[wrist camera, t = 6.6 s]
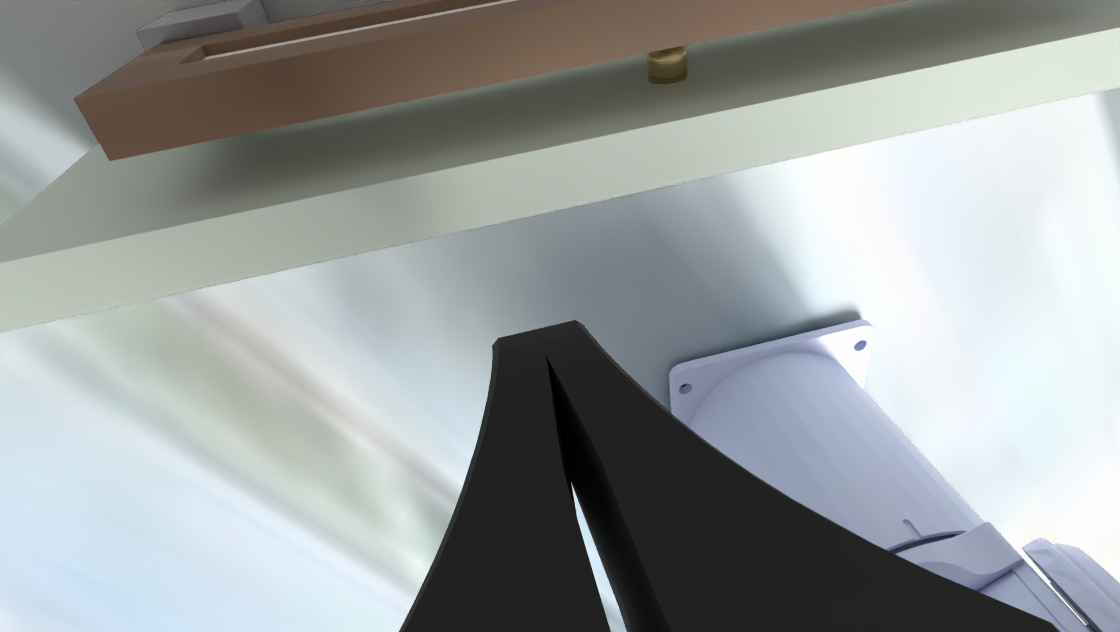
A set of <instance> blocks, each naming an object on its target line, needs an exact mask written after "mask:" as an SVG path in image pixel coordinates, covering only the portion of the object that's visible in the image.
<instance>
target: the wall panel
mask: <svg viewBox="0 0 1120 632" xmlns="http://www.w3.org/2000/svg"><path fill="white" fill-rule="evenodd" d="M265 24H269V22H268V19H267V17H266V14H265V11H264V9H263V6H262V3H261V1H260V0H231V1H226V2H220V3H215V4H209V5H204V6H198V7H193V8H187V9H182V10H177V11H171V12H169V13H167V14H166V15H164V16H162V17H160V18H158V19H156V20H155V21H153V22H151V23H149V24H147V25H145V26H143V27H142V28H140V29H138V30H136V33H137V35H138V37H139V39H140V41H141V43H142V45H143V47H144V49H145V51H148V50H149V49H151V48H152V47H154V46H155V45H159V44H164V43H169V42H175V41H180V40H185V39H191V38H196V37H201V36H207V35H212V34H217V33H223V32H228V31H233V30H239V29H244V28H249V27H255V26H260V25H265ZM1118 87H1120V0H908V1H903V2H898V3H893V4H888V5H883V6H878V7H873V8H868V9H863V10H858V11H853V12H848V13H843V14H838V15H833V16H828V17H823V18H818V19H813V20H809V21H804V22H799V23H794V24H789V25H784V26H779V27H774V28H769V29H764V30H759V31H754V32H749V33H744V34H739V35H734V36H729V37H724V38H719V39H714V40H709V41H704V42H699V43H694V44H689V45H684V46H679V47H674V48H669V49H664V50H660V51H655V52H650V53H645V54H640V55H635V56H630V57H625V58H620V59H615V60H610V61H605V62H600V63H595V64H590V65H585V66H580V67H575V68H570V69H565V70H560V71H555V72H550V73H545V74H540V75H535V76H530V77H525V78H520V79H516V80H511V81H506V82H501V83H496V84H491V85H486V86H481V87H476V88H471V89H466V90H461V91H456V92H451V93H446V94H441V95H436V96H431V97H426V98H421V99H416V100H411V101H406V102H401V103H396V104H391V105H386V106H381V107H376V108H372V109H367V110H362V111H357V112H352V113H347V114H342V115H337V116H332V117H327V118H322V119H317V120H312V121H307V122H302V123H297V124H292V125H287V126H282V127H277V128H272V129H267V130H262V131H257V132H252V133H247V134H242V135H237V136H232V137H228V138H223V139H218V140H213V141H208V142H203V143H198V144H193V145H188V146H183V147H178V148H173V149H168V150H163V151H158V152H153V153H148V154H143V155H138V156H133V157H128V158H123V159H118V160H113V161H109V159H108V158H107V156H106V154H105V152H104V151H103V149H102V147H101V145H100V144H99V143H98V144H97V145H96V146H95V147H94V148H92V149H91V150H90V151H89V152H88V153H86V154H85V155H84V156H83V157H82V158H81V159H79V160H78V161H77V162H76V163H75V164H73V165H72V166H71V167H70V168H69V169H68V170H66V171H65V172H64V173H63V174H62V175H60V176H59V177H58V178H57V179H56V180H55V181H53V182H52V183H51V184H50V185H49V186H47V187H46V188H45V189H44V190H43V191H42V192H40V193H39V194H38V195H37V196H36V197H34V198H33V199H32V200H31V201H30V202H29V203H27V204H26V205H25V206H24V207H23V208H21V209H20V210H19V211H18V212H17V213H16V214H14V215H13V216H12V217H11V218H10V219H8V220H7V221H6V222H5V223H4V224H3V225H1V226H0V333H1V332H5V331H10V330H14V329H19V328H24V327H28V326H33V325H37V324H42V323H46V322H51V321H55V320H60V319H65V318H69V317H74V316H78V315H83V314H87V313H92V312H97V311H101V310H106V309H110V308H115V307H119V306H124V305H128V304H133V303H138V302H142V301H147V300H151V299H156V298H160V297H165V296H169V295H174V294H179V293H183V292H188V291H192V290H197V289H201V288H206V287H211V286H215V285H220V284H224V283H229V282H233V281H238V280H242V279H247V278H252V277H256V276H261V275H265V274H270V273H274V272H279V271H284V270H288V269H293V268H297V267H302V266H306V265H311V264H315V263H320V262H325V261H329V260H334V259H338V258H343V257H347V256H352V255H357V254H361V253H366V252H370V251H375V250H379V249H384V248H388V247H393V246H398V245H402V244H407V243H411V242H416V241H420V240H425V239H429V238H434V237H439V236H443V235H448V234H452V233H457V232H461V231H466V230H471V229H475V228H480V227H484V226H489V225H493V224H498V223H502V222H507V221H512V220H516V219H521V218H525V217H530V216H534V215H539V214H544V213H548V212H553V211H557V210H562V209H566V208H571V207H575V206H580V205H585V204H589V203H594V202H598V201H603V200H607V199H612V198H617V197H621V196H626V195H630V194H635V193H639V192H644V191H648V190H653V189H658V188H662V187H667V186H671V185H676V184H680V183H685V182H689V181H694V180H699V179H703V178H708V177H712V176H717V175H721V174H726V173H731V172H735V171H740V170H744V169H749V168H753V167H758V166H762V165H767V164H772V163H776V162H781V161H785V160H790V159H794V158H799V157H804V156H808V155H813V154H817V153H822V152H826V151H831V150H835V149H840V148H845V147H849V146H854V145H858V144H863V143H867V142H872V141H877V140H881V139H886V138H890V137H895V136H899V135H904V134H908V133H913V132H918V131H922V130H927V129H931V128H936V127H940V126H945V125H949V124H954V123H959V122H963V121H968V120H972V119H977V118H981V117H986V116H991V115H995V114H1000V113H1004V112H1009V111H1013V110H1018V109H1022V108H1027V107H1032V106H1036V105H1041V104H1045V103H1050V102H1054V101H1059V100H1064V99H1068V98H1073V97H1077V96H1082V95H1086V94H1091V93H1095V92H1100V91H1105V90H1109V89H1114V88H1118Z"/></svg>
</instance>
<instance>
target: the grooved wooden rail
mask: <svg viewBox="0 0 1120 632" xmlns="http://www.w3.org/2000/svg"><path fill="white" fill-rule="evenodd" d="M903 1H908V0H394V1H388V2H383V3H378V4H372V5H367V6H362V7H356V8H351V9H346V10H340V11H335V12H329V13H324V14H319V15H313V16H308V17H303V18H297V19H292V20H287V21H281V22H276V23H271V24H265V25H260V26H255V27H249V28H244V29H239V30H233V31H228V32H223V33H217V34H212V35H207V36H201V37H196V38H191V39H185V40H180V41H175V42H169V43H164V44H159V45H155V46H154V47H152V48H151V49H149V50H148V51H146V52H145V53H143V54H142V55H140V56H138V57H137V58H135V59H134V60H132V61H131V62H129V63H128V64H126V65H125V66H123V67H122V68H120V69H118V70H117V71H115V72H114V73H112V74H111V75H109V76H108V77H106V78H105V79H103V80H102V81H100V82H98V83H97V84H95V85H94V86H92V87H91V88H89V89H88V90H86V91H85V92H83V93H82V94H80V95H79V96H77V97H75V98H74V100H75V102H76V104H77V105H78V107H79V109H80V111H81V112H82V114H83V116H84V118H85V119H86V121H87V123H88V124H89V126H90V128H91V130H92V131H93V133H94V135H95V137H96V138H97V140H98V142H99V144H100V145H101V147H102V149H103V151H104V152H105V154H106V156H107V158H108V159H109V161H113V160H118V159H123V158H128V157H133V156H138V155H143V154H148V153H153V152H158V151H163V150H168V149H173V148H178V147H183V146H188V145H193V144H198V143H203V142H208V141H213V140H218V139H223V138H228V137H232V136H237V135H242V134H247V133H252V132H257V131H262V130H267V129H272V128H277V127H282V126H287V125H292V124H297V123H302V122H307V121H312V120H317V119H322V118H327V117H332V116H337V115H342V114H347V113H352V112H357V111H362V110H367V109H372V108H376V107H381V106H386V105H391V104H396V103H401V102H406V101H411V100H416V99H421V98H426V97H431V96H436V95H441V94H446V93H451V92H456V91H461V90H466V89H471V88H476V87H481V86H486V85H491V84H496V83H501V82H506V81H511V80H516V79H520V78H525V77H530V76H535V75H540V74H545V73H550V72H555V71H560V70H565V69H570V68H575V67H580V66H585V65H590V64H595V63H600V62H605V61H610V60H615V59H620V58H625V57H630V56H635V55H640V54H645V53H650V52H655V51H660V50H664V49H669V48H674V47H679V46H684V45H689V44H694V43H699V42H704V41H709V40H714V39H719V38H724V37H729V36H734V35H739V34H744V33H749V32H754V31H759V30H764V29H769V28H774V27H779V26H784V25H789V24H794V23H799V22H804V21H809V20H813V19H818V18H823V17H828V16H833V15H838V14H843V13H848V12H853V11H858V10H863V9H868V8H873V7H878V6H883V5H888V4H893V3H898V2H903Z"/></svg>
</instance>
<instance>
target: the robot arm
mask: <svg viewBox="0 0 1120 632" xmlns="http://www.w3.org/2000/svg"><path fill="white" fill-rule="evenodd" d="M873 332H874V330H873V327H872V325H871V324H870V323H869V322H867V321H866V320H863V319H861V320H855V321H851V322H847V323H843V324H839V325H835V326H831V327H827V328H822V329H818V330H814V331H810V332H806V333H802V334H798V335H794V336H790V337H786V338H781V339H777V340H773V341H769V342H765V343H761V344H757V345H753V346H749V347H744V348H740V349H736V350H732V351H728V352H724V353H720V354H716V355H712V356H708V357H703V358H699V359H695V360H691V361H687V362H683V363H680V364H677V365H676V366H674V367H673V368H672V369H671V371H670V373H669V386H670V404H671V413H670V412H669V411H668V410H667V409H666V408H665V407H663V406H662V405H661V404H660V403H659V402H658V401H657V400H655V399H654V398H653V397H652V396H651V395H650V394H649V393H648V392H647V391H646V390H644V389H643V388H642V387H641V386H640V385H639V384H638V383H637V382H636V381H635V380H634V379H632V378H631V377H630V376H629V375H628V374H627V373H626V372H625V371H624V370H623V369H622V368H621V367H620V366H619V365H618V364H617V363H616V362H615V361H614V360H613V359H612V358H611V356H610V355H609V354H608V353H607V352H606V351H605V350H604V349H603V348H602V347H601V346H600V345H599V343H598V342H597V341H596V340H595V339H594V338H593V336H592V335H591V334H590V333H589V332H588V330H587V329H586V328H585V326H584V325H583V324H581V323H579V322H578V321H576V320H574V321H570V322H565V323H561V324H557V325H553V326H548V327H544V328H540V329H536V330H531V331H527V332H523V333H518V334H514V335H510V336H506V337H501V338H498V339H497V340H496V342H495V343H494V344H493V346H492V349H493V360H492V372H491V380H490V386H489V391H488V397H487V402H486V407H485V411H484V415H483V419H482V423H481V428H480V432H479V436H478V440H477V443H476V447H475V450H474V453H473V457H472V460H471V463H470V466H469V469H468V472H467V475H466V479H465V482H464V485H463V488H462V491H461V494H460V497H459V499H458V502H457V505H456V507H455V510H454V513H453V515H452V518H451V521H450V523H449V526H448V528H447V530H446V533H445V535H444V538H443V540H442V542H441V545H440V547H439V550H438V552H437V554H436V556H435V559H434V561H433V563H432V565H431V567H430V569H429V572H428V574H427V576H426V578H425V580H424V582H423V584H422V586H421V588H420V591H419V593H418V595H417V597H416V599H415V601H414V603H413V605H412V607H411V609H410V611H409V613H408V615H407V617H406V619H405V621H404V623H403V625H402V627H401V629H400V631H399V632H611V631H610V628H609V625H608V621H607V618H606V615H605V611H604V608H603V605H602V601H601V598H600V595H599V591H598V588H597V585H596V581H595V578H594V574H593V571H592V568H591V564H590V561H589V557H588V554H587V551H586V547H585V544H584V540H583V537H582V534H581V530H580V527H579V523H578V520H577V515H576V509H575V503H574V497H573V491H572V485H573V488H574V490H575V493H576V496H577V498H578V501H579V504H580V506H581V509H582V512H583V514H584V517H585V519H586V522H587V525H588V527H589V530H590V533H591V535H592V538H593V540H594V543H595V546H596V548H597V551H598V554H599V556H600V559H601V561H602V564H603V567H604V569H605V572H606V575H607V577H608V580H609V582H610V585H611V588H612V590H613V593H614V595H615V598H616V601H617V603H618V606H619V609H620V612H621V615H622V618H623V621H624V624H625V627H626V630H627V632H1120V583H1119V582H1118V581H1117V580H1116V579H1114V578H1113V577H1112V576H1111V575H1110V574H1109V573H1108V572H1107V571H1106V570H1105V569H1103V568H1102V567H1101V566H1100V565H1099V564H1098V563H1097V562H1095V561H1094V560H1093V559H1092V558H1091V557H1089V556H1088V555H1087V554H1086V553H1084V552H1083V551H1082V550H1080V549H1079V548H1076V547H1072V546H1067V545H1062V544H1054V545H1053V544H1052V543H1050V542H1049V541H1047V540H1046V539H1041V538H1039V539H1036V540H1034V541H1032V542H1030V543H1029V544H1027V545H1026V546H1024V547H1022V549H1023V550H1024V551H1025V553H1026V554H1027V555H1028V556H1029V558H1030V559H1031V560H1032V561H1033V562H1034V563H1035V564H1036V566H1037V567H1038V568H1039V569H1040V570H1041V571H1042V572H1043V574H1044V575H1045V576H1046V577H1047V578H1048V579H1049V580H1050V581H1051V582H1050V584H1051V585H1052V586H1053V588H1054V589H1055V590H1056V591H1057V592H1058V593H1059V594H1060V596H1061V597H1062V598H1063V599H1064V600H1065V601H1066V602H1067V603H1068V605H1069V606H1070V607H1071V608H1072V609H1073V610H1074V611H1075V612H1076V614H1077V615H1078V616H1079V617H1080V618H1081V619H1082V620H1083V621H1084V622H1085V624H1086V626H1085V625H1084V624H1083V623H1082V621H1081V620H1080V619H1079V618H1078V617H1077V616H1076V615H1075V614H1074V613H1073V612H1072V611H1071V610H1070V608H1069V607H1068V606H1067V605H1066V604H1065V603H1064V602H1063V601H1062V600H1061V599H1060V598H1059V597H1058V596H1057V594H1056V593H1055V592H1054V591H1053V590H1052V589H1051V588H1050V587H1049V586H1048V585H1047V584H1046V583H1045V582H1044V580H1043V579H1042V578H1041V577H1040V576H1039V575H1038V574H1037V573H1036V572H1035V571H1034V570H1033V569H1032V568H1031V567H1030V566H1029V565H1028V564H1027V562H1026V561H1025V560H1024V559H1023V558H1022V557H1021V556H1020V555H1019V554H1018V553H1017V551H1016V550H1015V549H1014V548H1013V547H1012V546H1011V545H1010V544H1009V543H1008V542H1007V541H1006V539H1005V538H1004V537H1003V536H1002V535H1001V534H1000V533H999V532H998V531H997V530H996V529H995V528H994V526H993V525H992V524H991V523H989V522H984V521H983V520H982V519H981V518H980V516H979V515H978V514H977V513H976V512H975V511H974V510H973V509H972V508H971V507H970V505H969V504H968V503H967V502H966V501H965V500H964V499H963V498H962V497H961V496H960V494H959V493H958V492H957V491H956V490H955V489H954V488H953V487H952V486H951V485H950V484H949V482H948V481H947V480H946V479H945V478H944V477H943V476H942V475H941V474H940V473H939V471H938V470H937V469H936V468H935V467H934V466H933V465H932V464H931V463H930V462H929V460H928V459H927V458H926V457H925V456H924V455H923V454H922V453H921V452H920V451H919V449H918V448H917V447H916V446H915V445H914V444H913V443H912V442H911V441H910V440H909V439H908V437H907V436H906V435H905V434H904V433H903V432H902V431H901V430H900V429H899V428H898V426H897V425H896V424H895V423H894V422H893V421H892V420H891V419H890V418H889V417H888V415H887V414H886V413H885V412H884V411H883V410H882V409H881V408H880V407H879V406H878V404H877V403H876V402H875V401H874V400H873V399H872V398H871V397H870V396H869V395H868V394H867V392H866V391H865V390H864V389H863V388H864V382H865V377H866V371H867V366H868V360H869V355H870V349H871V343H872V338H873ZM857 342H858V343H857ZM856 343H857V344H856ZM683 384H687V385H686V386H684V387H682V388H680V387H681V386H682V385H683ZM571 482H572V485H571Z"/></svg>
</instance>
